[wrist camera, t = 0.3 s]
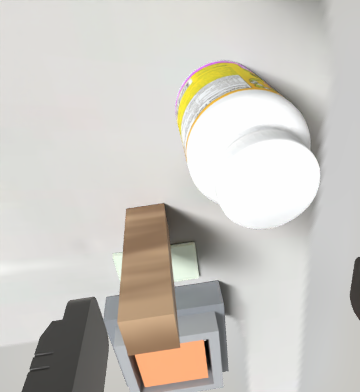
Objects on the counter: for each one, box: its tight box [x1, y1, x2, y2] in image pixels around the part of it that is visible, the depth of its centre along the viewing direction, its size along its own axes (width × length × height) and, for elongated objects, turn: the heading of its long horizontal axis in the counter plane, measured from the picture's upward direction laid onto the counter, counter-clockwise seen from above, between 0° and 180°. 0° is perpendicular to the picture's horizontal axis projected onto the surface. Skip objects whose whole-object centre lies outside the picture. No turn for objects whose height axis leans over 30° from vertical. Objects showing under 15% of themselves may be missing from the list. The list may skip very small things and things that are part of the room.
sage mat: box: [112, 242, 199, 282], centre depth 34 cm, size 5×8×1 cm, turn 97°
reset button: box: [135, 340, 208, 387], centre depth 36 cm, size 7×7×3 cm
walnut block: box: [117, 203, 180, 356], centre depth 26 cm, size 3×3×12 cm
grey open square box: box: [103, 281, 228, 392], centre depth 37 cm, size 12×12×5 cm
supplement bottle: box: [175, 60, 321, 230], centre depth 21 cm, size 7×7×13 cm
